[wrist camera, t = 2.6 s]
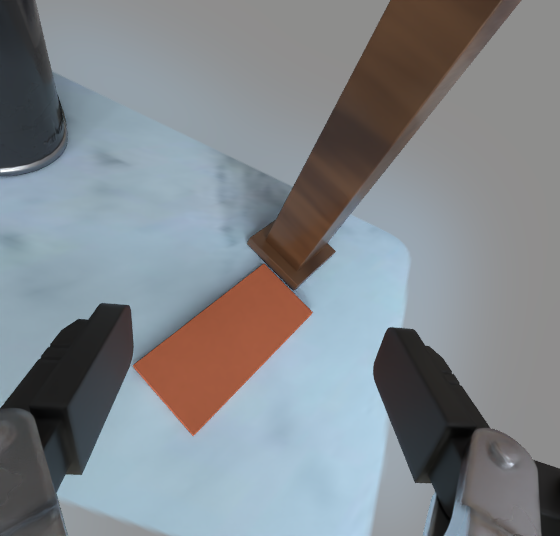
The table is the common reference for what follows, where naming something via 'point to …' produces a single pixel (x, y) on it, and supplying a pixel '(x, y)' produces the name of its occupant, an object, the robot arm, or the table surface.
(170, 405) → the terracotta mat
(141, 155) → the table surface
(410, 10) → the wooden square pillar
